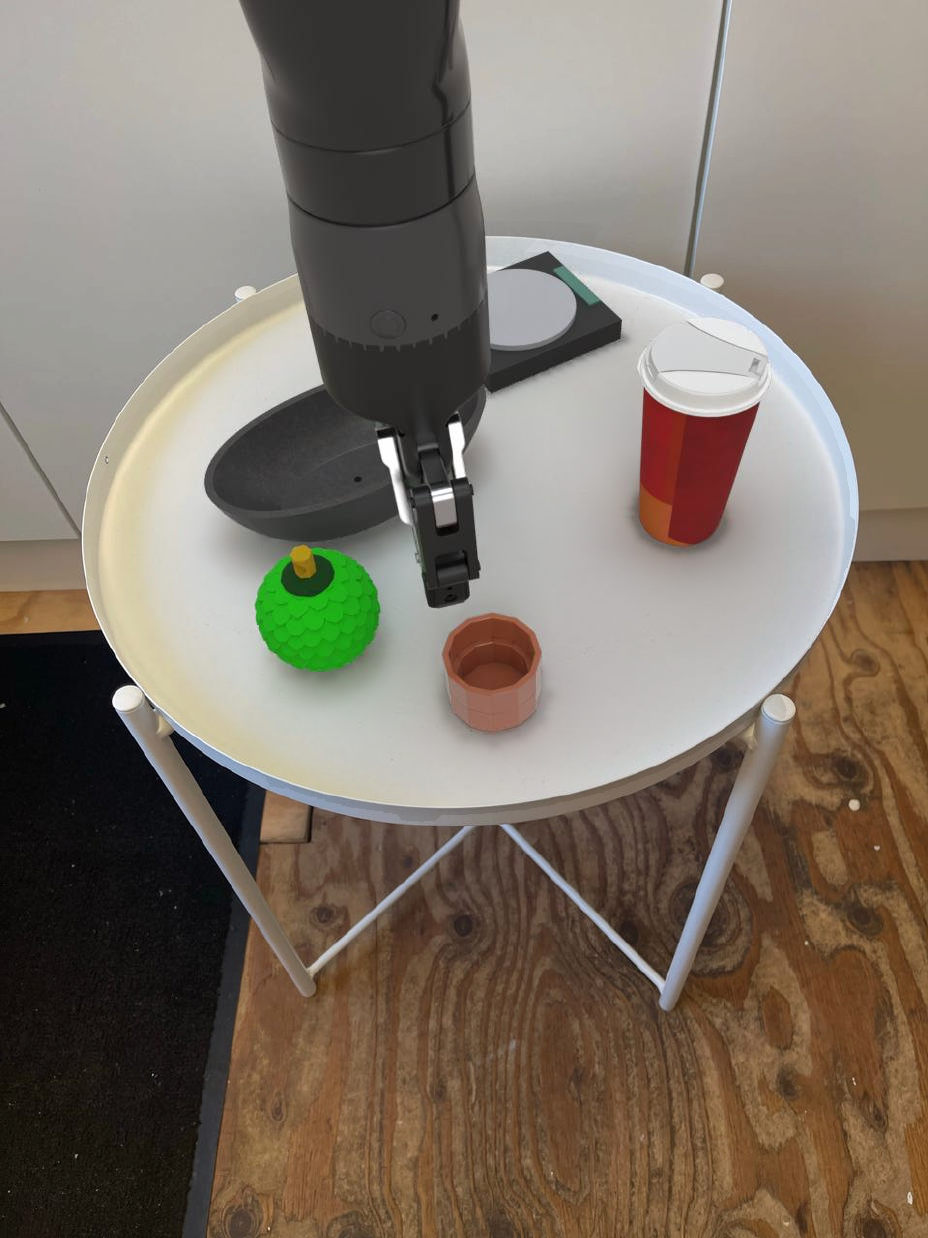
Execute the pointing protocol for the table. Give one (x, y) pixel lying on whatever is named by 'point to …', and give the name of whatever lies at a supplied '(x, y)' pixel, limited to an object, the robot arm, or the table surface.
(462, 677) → the small bowl
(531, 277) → the scale
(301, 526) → the bowl
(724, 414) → the coffee cup
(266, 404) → the table surface
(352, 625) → the ornament
